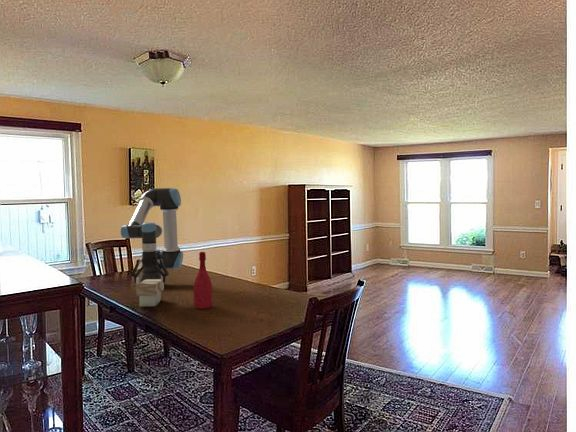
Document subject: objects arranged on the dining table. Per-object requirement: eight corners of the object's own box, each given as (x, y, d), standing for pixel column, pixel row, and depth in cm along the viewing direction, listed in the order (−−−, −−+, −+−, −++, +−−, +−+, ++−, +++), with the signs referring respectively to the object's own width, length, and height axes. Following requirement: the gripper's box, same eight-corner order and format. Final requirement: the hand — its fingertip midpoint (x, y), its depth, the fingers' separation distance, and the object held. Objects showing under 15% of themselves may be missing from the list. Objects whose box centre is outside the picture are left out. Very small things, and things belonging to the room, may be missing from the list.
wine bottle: (216, 306, 232) (215, 251, 230) (203, 310, 223) (203, 253, 221) (202, 303, 237) (201, 250, 235) (189, 308, 228) (189, 252, 226)
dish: (145, 300, 245) (145, 290, 245) (160, 300, 245) (160, 289, 245) (139, 306, 232) (139, 295, 232) (155, 306, 232) (155, 295, 232)
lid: (146, 289, 246) (146, 279, 246) (163, 289, 246) (163, 279, 246) (136, 295, 231) (136, 284, 231) (154, 295, 231) (154, 284, 231)
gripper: (124, 251, 232) (125, 290, 234) (170, 251, 234) (171, 289, 235) (128, 250, 240) (129, 287, 241) (173, 249, 242) (174, 286, 243)
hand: (150, 288), depth 238 cm, fingers open, 13 cm apart
